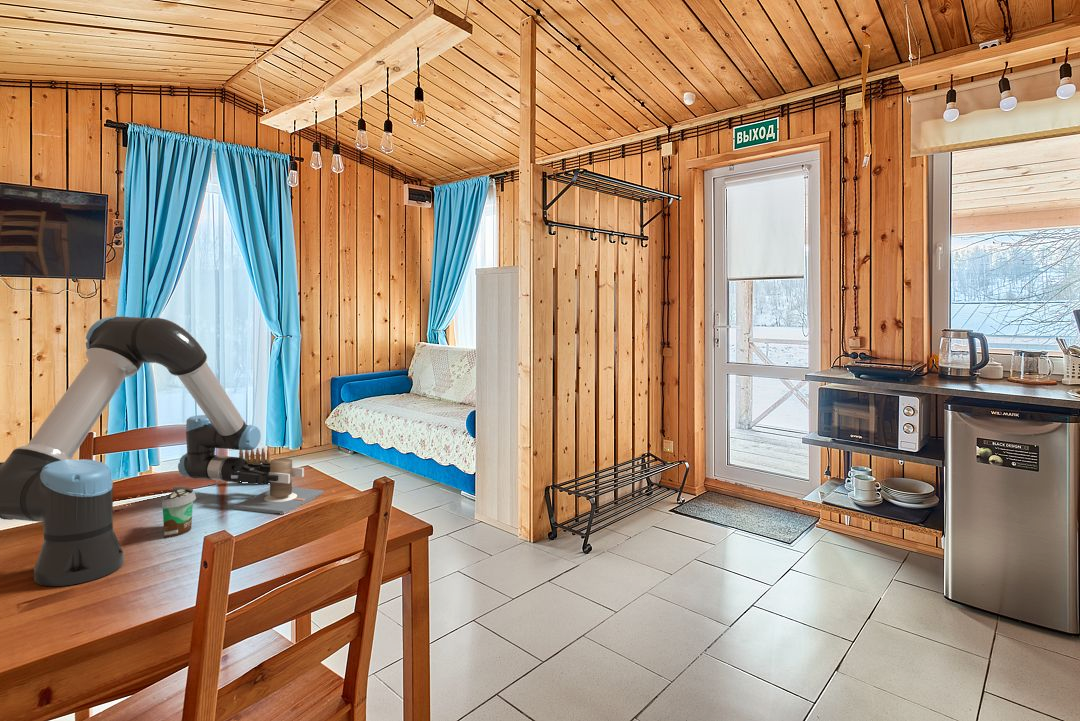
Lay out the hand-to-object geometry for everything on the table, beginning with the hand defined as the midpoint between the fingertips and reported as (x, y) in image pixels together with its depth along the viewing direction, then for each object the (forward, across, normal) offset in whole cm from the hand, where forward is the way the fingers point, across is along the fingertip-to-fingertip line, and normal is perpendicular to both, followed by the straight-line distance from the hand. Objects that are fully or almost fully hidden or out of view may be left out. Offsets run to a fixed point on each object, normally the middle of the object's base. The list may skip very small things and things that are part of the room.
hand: (296, 475), depth 171 cm
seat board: (-5, 0, -8) cm, 10 cm away
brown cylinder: (-5, 0, -6) cm, 8 cm away
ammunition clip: (-24, -13, -8) cm, 29 cm away
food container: (-14, +27, -8) cm, 32 cm away
